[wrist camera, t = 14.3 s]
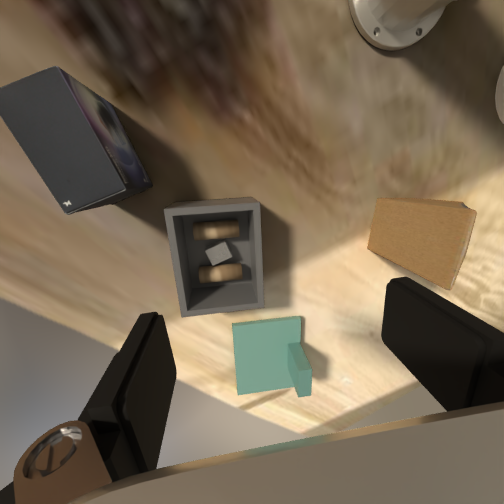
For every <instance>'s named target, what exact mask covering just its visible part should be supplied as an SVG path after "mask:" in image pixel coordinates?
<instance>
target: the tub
mask: <svg viewBox="0 0 504 504" xmlns="http://www.w3.org/2000/svg"><path fill="white" fill-rule="evenodd" d="M164 215H165V221H166V227H167V233H168V239H169V245H170V251H171V257H172V263H173V269H174V275H175V281H176V287H177V293H178V299H179V305H180V311H181V317H189V316H198V315H206V314H214V313H223V312H231V311H240V310H248V309H257V308H264V287H263V264H262V241H261V217H260V202H259V201H257V200H256V199H254V198H253V197H243V198H229V199H214V200H199V201H184V202H174V203H172V204H171V205H169V206H168V207H166V208H165V209H164ZM225 220H238V223H239V237H233V238H225V240H226V242H227V244H228V246H229V248H230V250H231V252H232V257H231V258H229V259H227V260H224V261H222V262H220V263H218V264H216V265H223V264H233V263H241V266H242V277H243V278H242V279H239V280H230V281H220V282H211V283H201V284H200V280H199V267H202V266H213V265H212V263H211V262H210V260H209V258H208V256H207V254H206V252H205V247H206V246H208V245H211V244H213V243H215V242H217V241H219V240H222V239H224V238H221V239H209V240H197V241H195V240H194V235H193V223H198V222H211V221H225Z"/></svg>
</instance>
